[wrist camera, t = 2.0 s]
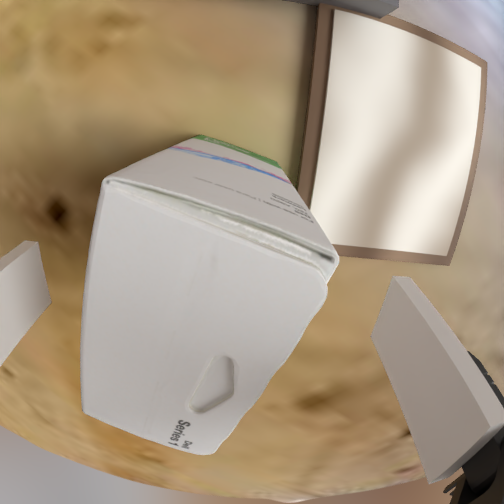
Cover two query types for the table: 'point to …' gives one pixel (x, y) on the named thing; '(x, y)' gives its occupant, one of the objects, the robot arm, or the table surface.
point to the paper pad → (390, 137)
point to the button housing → (359, 5)
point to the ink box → (195, 291)
